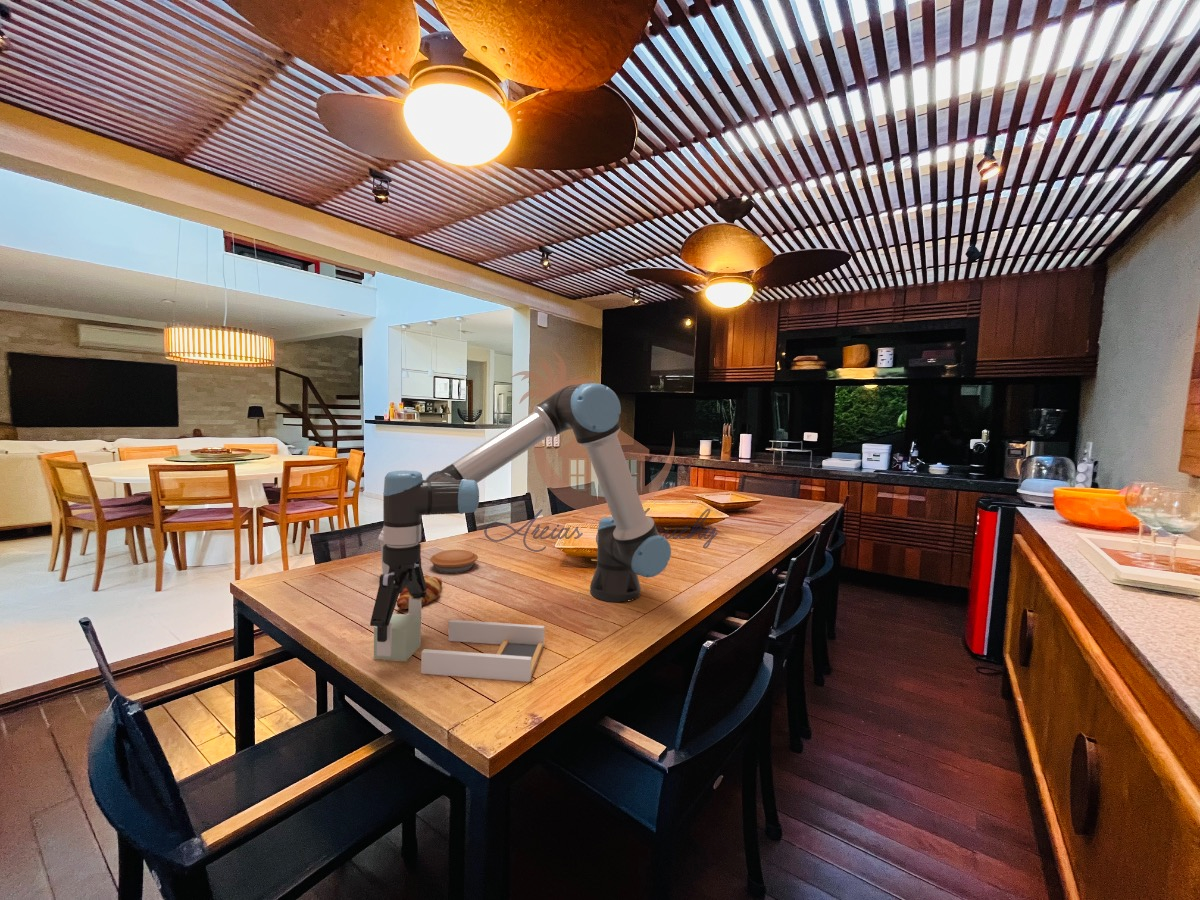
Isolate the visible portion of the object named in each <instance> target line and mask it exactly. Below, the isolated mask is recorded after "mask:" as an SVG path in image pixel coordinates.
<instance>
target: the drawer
mask: <svg viewBox="0 0 1200 900" xmlns="http://www.w3.org/2000/svg"><path fill="white" fill-rule="evenodd" d="M543 649H544V646H543V643H538V645H531V644H517V643H508V640H504V641H503V643H502V644H500V646H499V648H498V650H497V652H496V653H495V654H499V655H512V656H526V657H532V658H531V678H532V677H533V675H532V674H534V672H535V669H536V666H537V664H538V663H539V662H538V661H539V659H540V657H541V653H542V652H543ZM541 651H542V652H541Z"/></svg>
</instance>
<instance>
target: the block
mask: <svg viewBox="0 0 1200 900" xmlns="http://www.w3.org/2000/svg"><path fill="white" fill-rule="evenodd" d="M390 623H392V655H391V656H379V655H377V626H373V659H374V658H375V659H374V660H378V659H384V660H383V661H392V660H393V662H394V661H396V662H407V661H408V660H409V659H410V658H411V657H412V656H413V655H414V653H416V651H417V650H418V649H419V648H420V647H421V645H422V641H421V640H422V637H421V635H422V615H421V616H419V615H409V614H400V613H393V614H392V617H391V620H390Z"/></svg>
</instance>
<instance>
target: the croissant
mask: <svg viewBox="0 0 1200 900" xmlns="http://www.w3.org/2000/svg"><path fill="white" fill-rule="evenodd" d="M424 579H425V583H426V588H427V590H426V597H425V598H424V597H421V598H422V606H426V605H428V604H429V602H430V603H431V602H433V601H434V600H436V599H437V598H438V597H439V596H440V594H441V592H442V586H443V579H442V578H439V577H436V576H433V577H431V576H430V575H429V576H428V575H424ZM419 586H421V585H419ZM409 598H413V597H411V595H410V593H409V592H408V590H407V588H406V586H405V587H404V588H403V591H402V593H400V594H399V596H398V599H397V602H396V606H397V608H398V609H401V610H406V609H408V610H409ZM425 604H426V605H425Z"/></svg>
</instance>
